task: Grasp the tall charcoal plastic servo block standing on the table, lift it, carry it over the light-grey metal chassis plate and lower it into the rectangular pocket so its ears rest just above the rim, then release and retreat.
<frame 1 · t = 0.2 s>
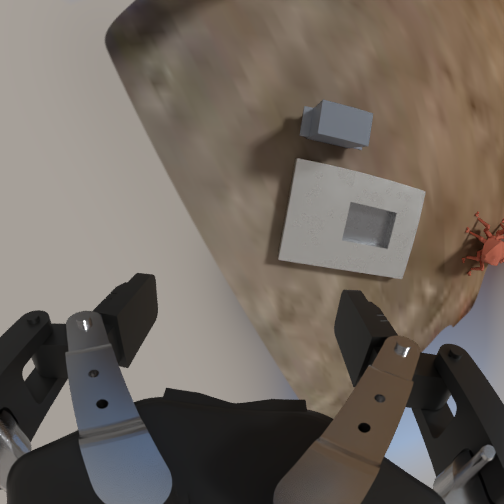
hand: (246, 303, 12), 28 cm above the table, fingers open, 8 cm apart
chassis: (353, 220, 39), on the table
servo: (329, 129, 35), on the table
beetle: (486, 242, 39), on the table
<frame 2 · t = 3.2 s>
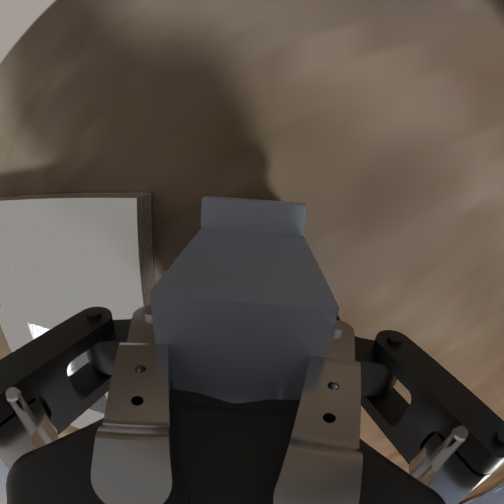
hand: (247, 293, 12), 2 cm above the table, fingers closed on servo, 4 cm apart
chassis: (73, 337, 16), on the table
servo: (249, 277, 14), on the table, touching gripper
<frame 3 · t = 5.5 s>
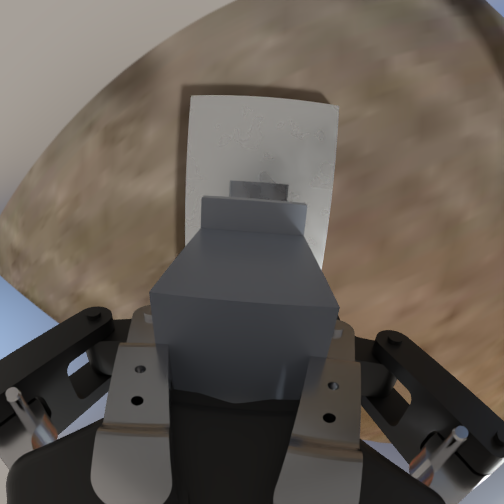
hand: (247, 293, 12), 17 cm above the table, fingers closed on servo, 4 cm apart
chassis: (258, 197, 28), on the table
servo: (249, 277, 14), point 15 cm above the table, touching gripper
when the fingers open (3 cm above the table, at t = 7.8 s): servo drops 1 cm, resting on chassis.
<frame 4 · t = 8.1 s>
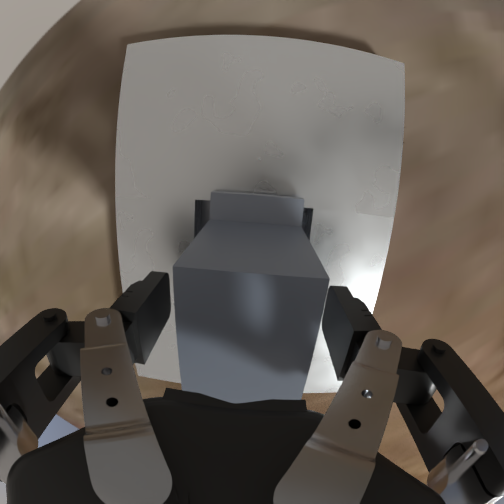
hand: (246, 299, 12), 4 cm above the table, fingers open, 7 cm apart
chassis: (252, 230, 15), on the table
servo: (252, 266, 16), resting on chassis
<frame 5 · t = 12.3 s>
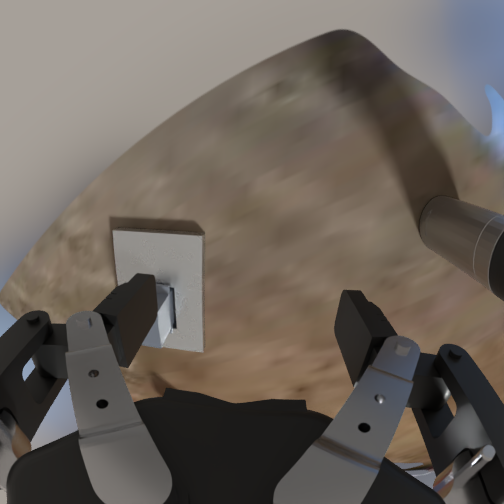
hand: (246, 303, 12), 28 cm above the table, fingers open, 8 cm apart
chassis: (161, 290, 43), on the table
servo: (162, 302, 44), resting on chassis
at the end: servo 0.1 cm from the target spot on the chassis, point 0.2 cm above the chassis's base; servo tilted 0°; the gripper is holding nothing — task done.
